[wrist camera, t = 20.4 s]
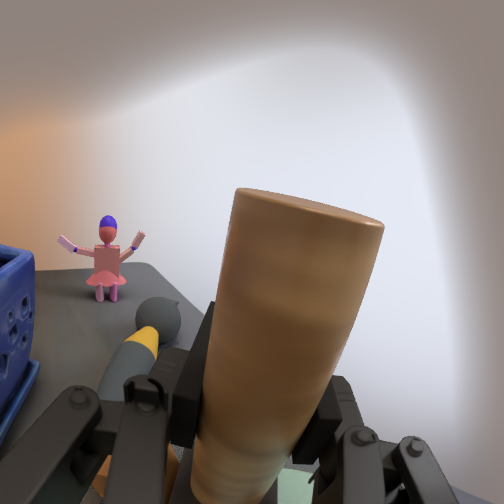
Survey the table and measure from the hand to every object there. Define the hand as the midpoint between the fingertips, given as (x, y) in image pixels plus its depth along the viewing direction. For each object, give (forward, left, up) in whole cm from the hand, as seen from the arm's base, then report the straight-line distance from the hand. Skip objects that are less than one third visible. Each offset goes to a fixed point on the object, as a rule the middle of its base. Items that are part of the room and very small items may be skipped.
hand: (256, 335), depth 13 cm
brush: (-2, +5, -9) cm, 10 cm away
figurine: (+25, -11, -12) cm, 30 cm away
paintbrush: (+11, -5, -12) cm, 16 cm away
